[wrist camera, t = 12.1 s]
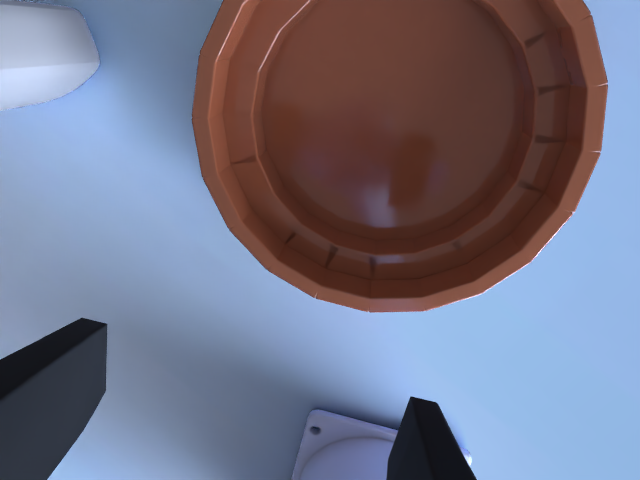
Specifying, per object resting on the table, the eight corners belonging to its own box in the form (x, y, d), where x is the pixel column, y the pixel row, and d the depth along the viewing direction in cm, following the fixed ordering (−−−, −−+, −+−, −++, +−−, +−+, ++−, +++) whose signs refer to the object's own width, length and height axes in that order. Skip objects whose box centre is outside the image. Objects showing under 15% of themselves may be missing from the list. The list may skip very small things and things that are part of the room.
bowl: (494, 303, 22) (513, 350, 18) (205, 229, 22) (173, 262, 19) (631, -28, 17) (689, -44, 13) (254, -116, 17) (222, -152, 14)
